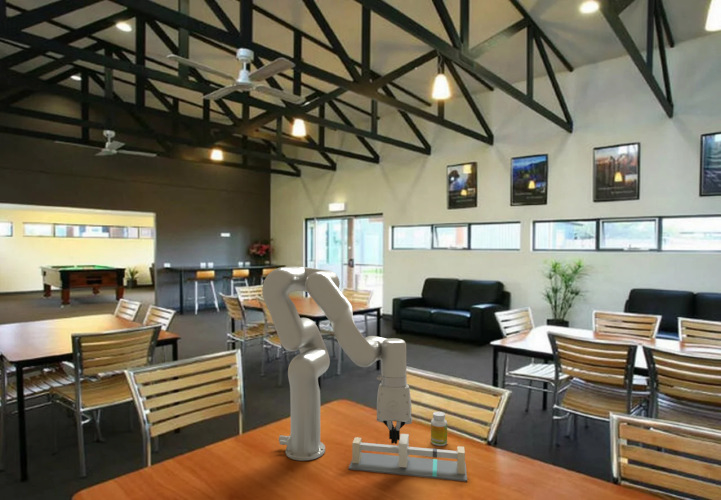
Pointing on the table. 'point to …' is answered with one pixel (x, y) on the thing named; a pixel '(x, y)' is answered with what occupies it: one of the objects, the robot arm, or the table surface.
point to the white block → (403, 450)
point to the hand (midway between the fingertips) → (394, 441)
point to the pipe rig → (409, 461)
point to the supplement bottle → (439, 429)
